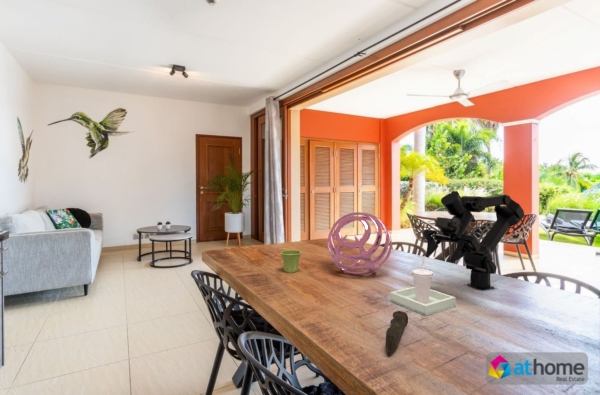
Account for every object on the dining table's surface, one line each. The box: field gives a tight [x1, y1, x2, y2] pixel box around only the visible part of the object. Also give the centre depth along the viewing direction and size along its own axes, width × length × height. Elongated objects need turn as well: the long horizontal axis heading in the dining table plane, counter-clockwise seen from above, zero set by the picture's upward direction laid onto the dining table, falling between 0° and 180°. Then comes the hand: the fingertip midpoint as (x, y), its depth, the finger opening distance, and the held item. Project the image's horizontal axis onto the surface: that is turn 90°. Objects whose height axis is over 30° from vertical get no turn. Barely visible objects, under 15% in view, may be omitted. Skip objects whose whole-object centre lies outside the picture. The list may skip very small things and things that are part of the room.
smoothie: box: [411, 257, 434, 303], centre depth 101 cm, size 6×6×14 cm
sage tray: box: [389, 286, 457, 317], centre depth 102 cm, size 14×14×3 cm
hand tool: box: [385, 310, 409, 357], centre depth 79 cm, size 19×4×5 cm, turn 152°
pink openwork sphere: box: [327, 211, 393, 276], centre depth 140 cm, size 28×28×27 cm
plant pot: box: [280, 249, 302, 274], centre depth 143 cm, size 9×9×9 cm
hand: (438, 259), depth 106 cm, fingers open, 9 cm apart
